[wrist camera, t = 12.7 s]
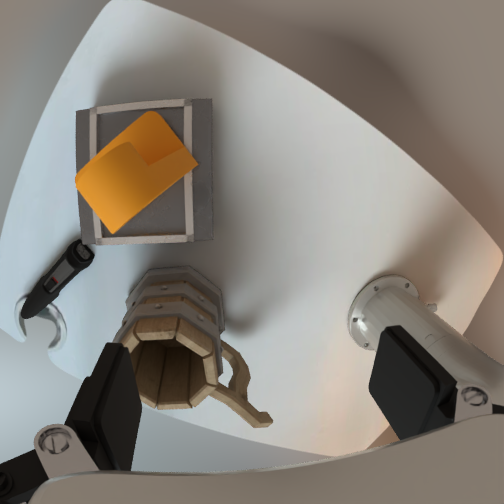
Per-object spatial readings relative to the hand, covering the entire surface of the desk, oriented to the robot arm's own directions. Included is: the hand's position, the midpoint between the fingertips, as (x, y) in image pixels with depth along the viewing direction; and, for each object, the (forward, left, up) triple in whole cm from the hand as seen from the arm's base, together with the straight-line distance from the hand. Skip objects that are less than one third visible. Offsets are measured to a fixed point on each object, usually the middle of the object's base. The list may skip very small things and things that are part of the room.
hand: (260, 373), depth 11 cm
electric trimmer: (+24, +8, -31) cm, 40 cm away
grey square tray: (+9, -6, -30) cm, 32 cm away
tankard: (+4, +15, -31) cm, 34 cm away
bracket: (+9, -6, -25) cm, 27 cm away
